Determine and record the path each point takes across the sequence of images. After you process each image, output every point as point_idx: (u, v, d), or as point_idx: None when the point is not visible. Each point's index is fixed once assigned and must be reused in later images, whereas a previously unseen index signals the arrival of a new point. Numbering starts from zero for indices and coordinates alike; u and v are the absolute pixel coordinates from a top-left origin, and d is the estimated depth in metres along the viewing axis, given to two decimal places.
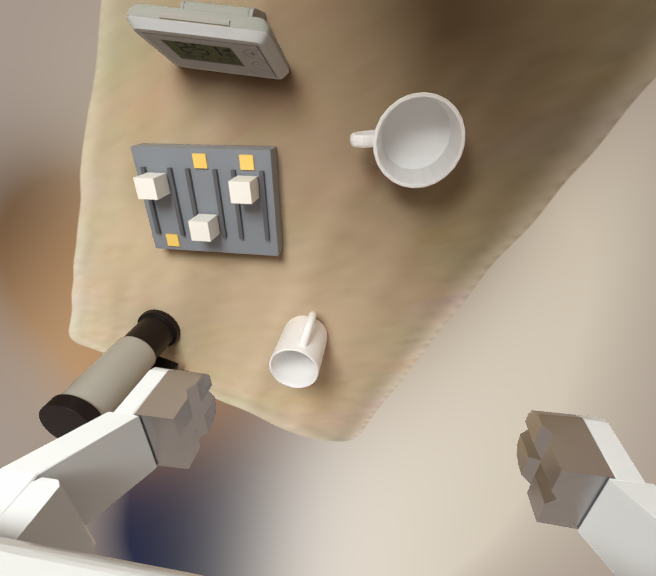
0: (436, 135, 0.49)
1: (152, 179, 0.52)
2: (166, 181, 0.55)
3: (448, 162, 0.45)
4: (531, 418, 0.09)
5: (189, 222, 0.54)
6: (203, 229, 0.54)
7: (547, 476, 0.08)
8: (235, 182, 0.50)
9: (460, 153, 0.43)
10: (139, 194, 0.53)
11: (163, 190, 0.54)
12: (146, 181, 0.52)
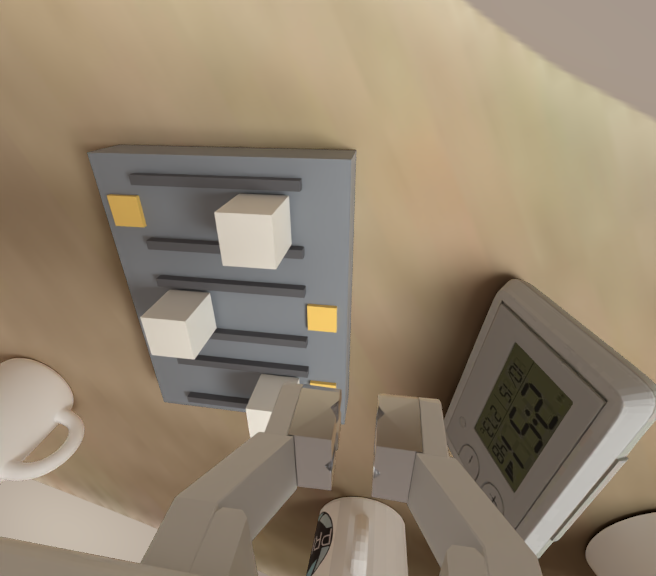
0: None
1: (273, 266, 0.20)
2: None
3: None
4: None
5: (183, 324, 0.23)
6: (175, 348, 0.24)
7: None
8: None
9: None
10: (227, 219, 0.19)
11: None
12: (266, 251, 0.19)
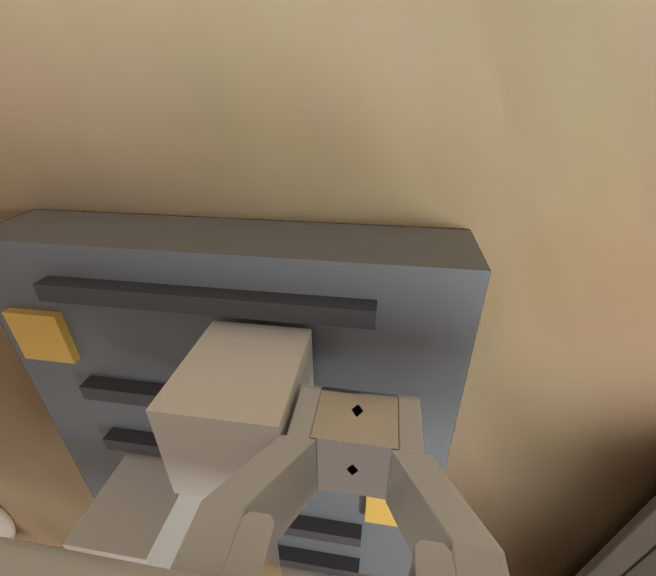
0: None
1: None
2: None
3: None
4: None
5: (142, 562, 0.12)
6: None
7: None
8: None
9: None
10: (176, 424, 0.08)
11: None
12: None
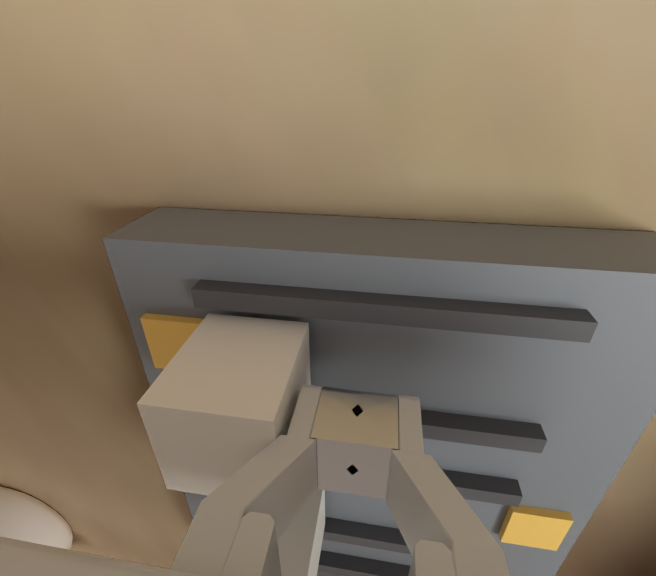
0: None
1: None
2: None
3: None
4: None
5: None
6: None
7: None
8: None
9: None
10: (168, 418, 0.08)
11: None
12: None
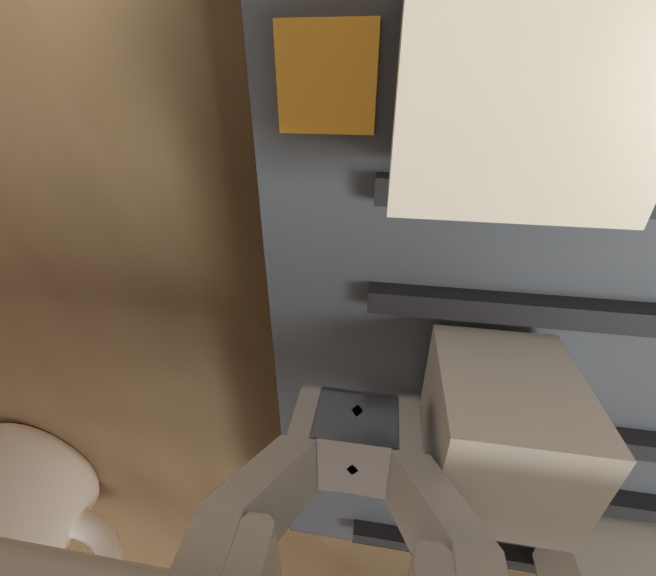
0: None
1: (633, 219, 0.04)
2: None
3: None
4: None
5: (621, 468, 0.06)
6: (528, 523, 0.07)
7: None
8: None
9: None
10: None
11: None
12: (637, 134, 0.04)
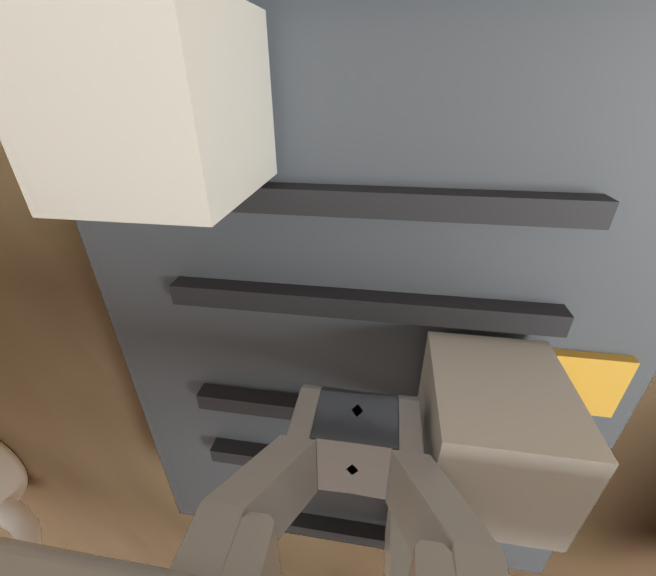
0: None
1: (202, 218, 0.05)
2: None
3: None
4: None
5: (604, 471, 0.07)
6: (518, 523, 0.08)
7: None
8: None
9: None
10: None
11: None
12: (168, 152, 0.05)
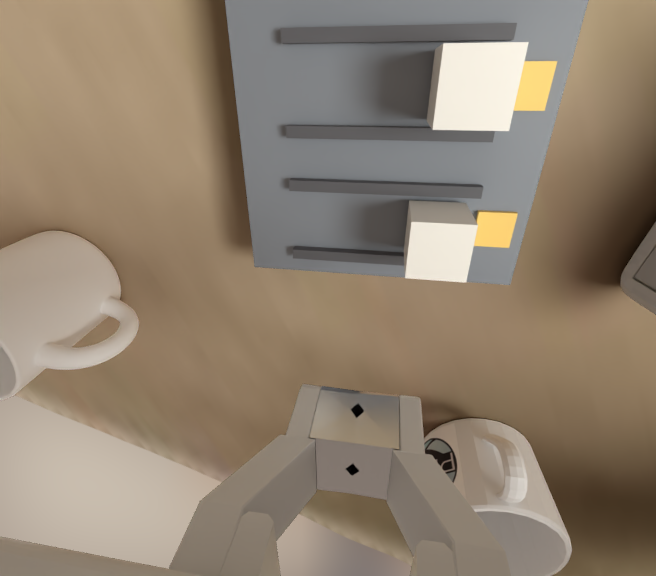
0: None
1: None
2: None
3: None
4: None
5: (522, 48, 0.14)
6: (483, 108, 0.15)
7: None
8: (471, 245, 0.18)
9: None
10: None
11: None
12: None
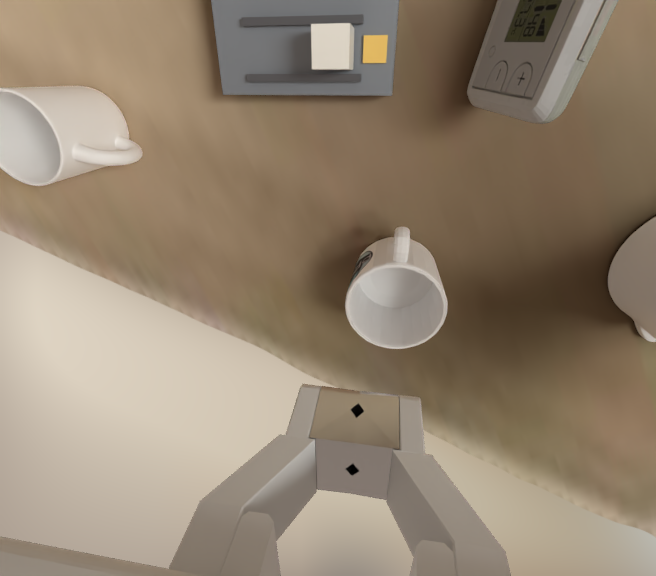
0: (393, 295, 0.46)
1: None
2: None
3: (370, 327, 0.42)
4: None
5: None
6: None
7: None
8: (348, 39, 0.29)
9: (381, 346, 0.41)
10: None
11: None
12: None
